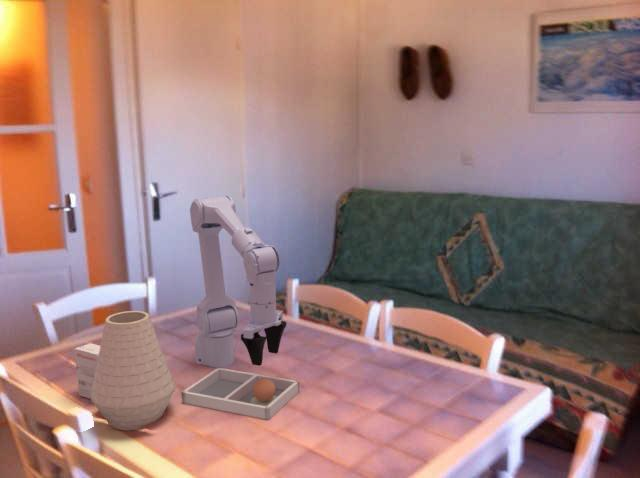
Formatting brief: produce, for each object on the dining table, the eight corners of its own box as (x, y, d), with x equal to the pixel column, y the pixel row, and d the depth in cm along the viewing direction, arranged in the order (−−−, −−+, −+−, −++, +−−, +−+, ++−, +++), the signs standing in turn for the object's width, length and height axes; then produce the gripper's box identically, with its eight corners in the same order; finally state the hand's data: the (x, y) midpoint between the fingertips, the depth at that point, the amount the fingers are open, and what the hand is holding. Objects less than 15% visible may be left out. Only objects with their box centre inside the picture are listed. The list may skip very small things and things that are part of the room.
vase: (133, 446, 129) (123, 336, 125) (75, 426, 138) (65, 322, 134) (193, 411, 144) (187, 311, 139) (138, 395, 153) (130, 300, 148)
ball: (249, 403, 145) (248, 382, 143) (260, 393, 149) (259, 373, 148) (269, 407, 143) (268, 386, 141) (279, 397, 147) (278, 376, 146)
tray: (182, 406, 146) (181, 392, 146) (218, 381, 160) (218, 367, 159) (268, 424, 137) (267, 408, 137) (299, 395, 151) (299, 381, 150)
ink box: (119, 395, 153) (115, 348, 150) (102, 403, 149) (97, 355, 146) (94, 388, 157) (90, 341, 155) (77, 395, 153) (72, 348, 151)
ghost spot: (245, 404, 144) (245, 403, 144) (259, 393, 150) (259, 392, 150) (270, 409, 142) (270, 408, 142) (284, 397, 147) (284, 396, 147)
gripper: (262, 312, 137) (265, 373, 139) (293, 293, 149) (295, 349, 152) (233, 308, 139) (236, 368, 142) (266, 290, 152) (268, 345, 155)
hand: (265, 358), depth 147 cm, fingers open, 7 cm apart
